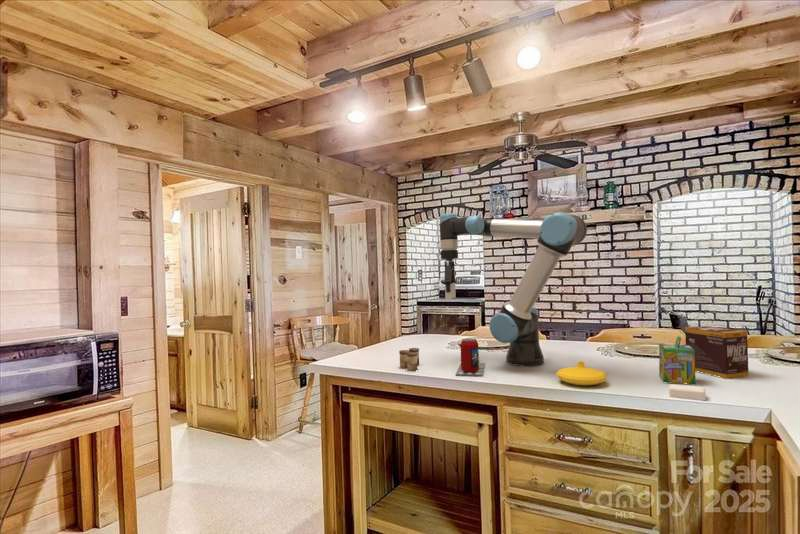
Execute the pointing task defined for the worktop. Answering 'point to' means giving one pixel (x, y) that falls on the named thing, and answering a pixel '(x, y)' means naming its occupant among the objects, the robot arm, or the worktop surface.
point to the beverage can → (469, 355)
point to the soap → (687, 392)
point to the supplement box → (719, 350)
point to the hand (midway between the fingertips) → (450, 299)
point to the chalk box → (677, 363)
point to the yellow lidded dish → (581, 375)
